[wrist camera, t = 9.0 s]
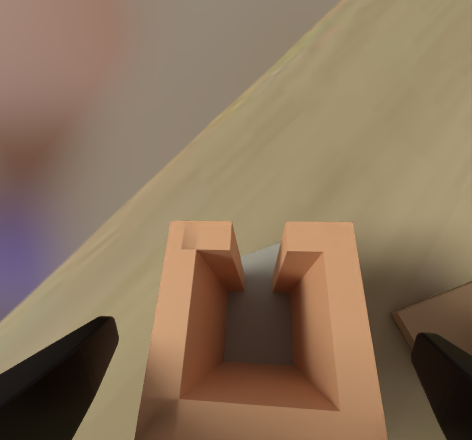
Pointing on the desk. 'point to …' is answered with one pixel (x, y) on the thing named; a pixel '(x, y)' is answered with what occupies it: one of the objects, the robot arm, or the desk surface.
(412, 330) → the stand
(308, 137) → the desk surface
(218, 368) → the c link
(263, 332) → the mat
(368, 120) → the desk surface
